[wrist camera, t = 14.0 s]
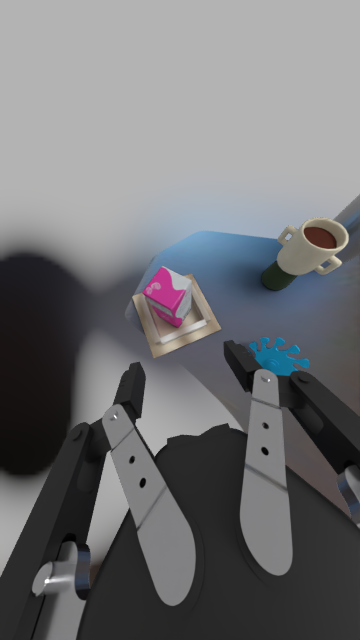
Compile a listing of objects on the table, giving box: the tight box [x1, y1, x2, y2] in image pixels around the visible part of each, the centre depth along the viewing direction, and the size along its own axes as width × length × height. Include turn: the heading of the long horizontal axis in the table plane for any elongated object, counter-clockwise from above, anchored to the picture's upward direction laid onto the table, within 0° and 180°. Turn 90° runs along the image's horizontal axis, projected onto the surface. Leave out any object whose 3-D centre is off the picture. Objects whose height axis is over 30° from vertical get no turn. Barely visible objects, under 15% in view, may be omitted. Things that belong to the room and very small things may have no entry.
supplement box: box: [142, 266, 192, 328], centre depth 25 cm, size 6×6×12 cm
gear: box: [248, 337, 309, 376], centre depth 25 cm, size 11×6×10 cm
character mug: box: [262, 217, 349, 290], centre depth 27 cm, size 11×7×13 cm, turn 36°
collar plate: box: [133, 273, 221, 359], centre depth 30 cm, size 16×16×4 cm
